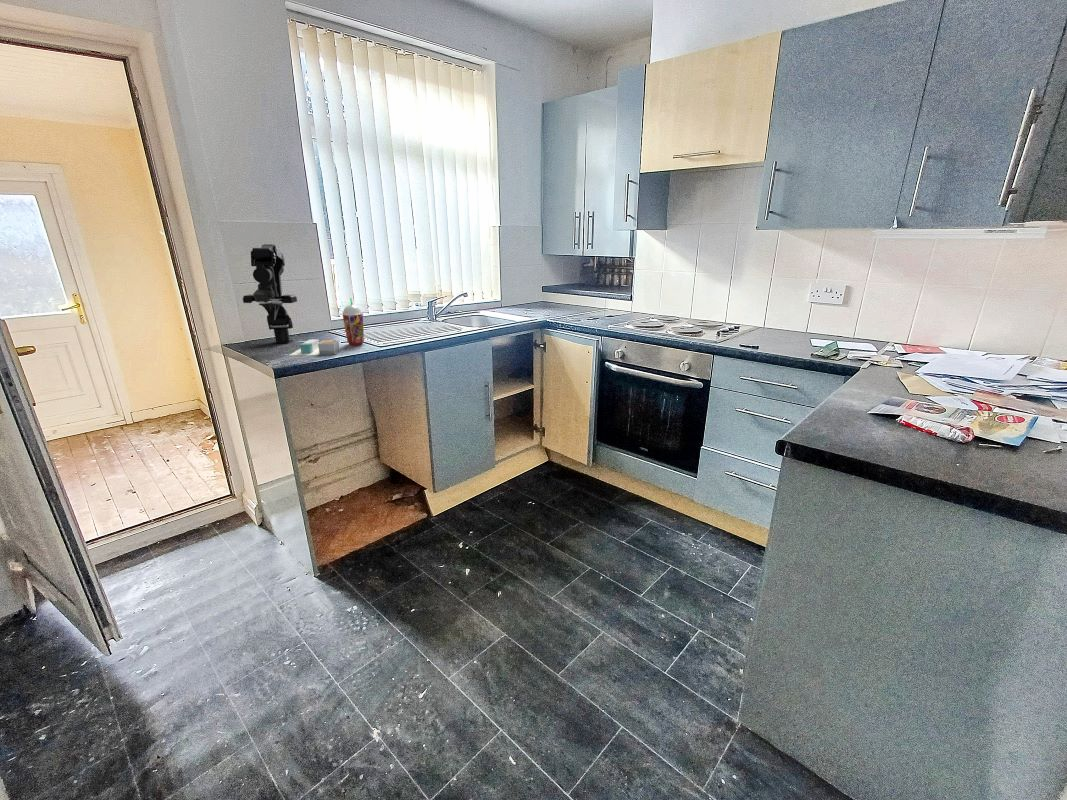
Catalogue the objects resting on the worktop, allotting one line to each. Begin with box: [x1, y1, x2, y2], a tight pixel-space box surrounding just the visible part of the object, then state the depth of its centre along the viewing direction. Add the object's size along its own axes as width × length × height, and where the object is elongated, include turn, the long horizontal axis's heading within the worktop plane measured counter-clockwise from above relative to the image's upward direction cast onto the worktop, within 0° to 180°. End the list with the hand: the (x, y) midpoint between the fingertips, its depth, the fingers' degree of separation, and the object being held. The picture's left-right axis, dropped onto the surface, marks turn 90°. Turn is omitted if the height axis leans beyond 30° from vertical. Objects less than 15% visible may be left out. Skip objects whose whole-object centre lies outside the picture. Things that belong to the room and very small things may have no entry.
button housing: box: [318, 340, 341, 356], centre depth 188 cm, size 6×6×4 cm
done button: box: [320, 339, 335, 343], centre depth 187 cm, size 4×4×3 cm
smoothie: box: [342, 297, 365, 347], centre depth 201 cm, size 8×8×20 cm
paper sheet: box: [289, 348, 320, 356], centre depth 191 cm, size 16×11×1 cm
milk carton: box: [299, 339, 320, 353], centre depth 191 cm, size 10×4×4 cm, turn 5°
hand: (273, 320), depth 189 cm, fingers closed
